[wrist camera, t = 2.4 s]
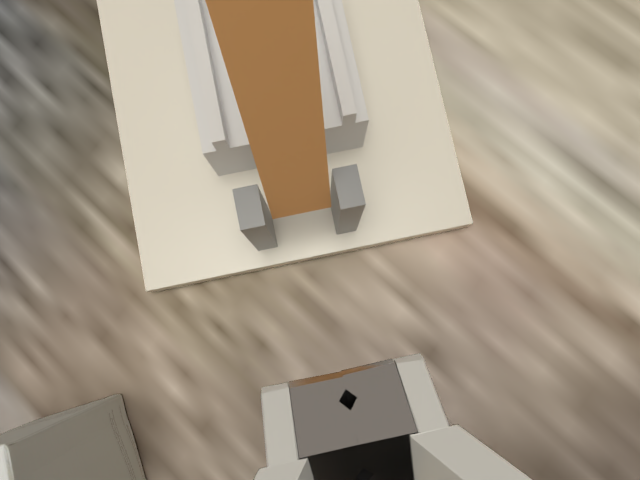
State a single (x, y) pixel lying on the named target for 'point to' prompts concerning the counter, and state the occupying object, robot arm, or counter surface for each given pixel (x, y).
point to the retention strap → (278, 96)
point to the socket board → (208, 203)
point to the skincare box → (73, 445)
